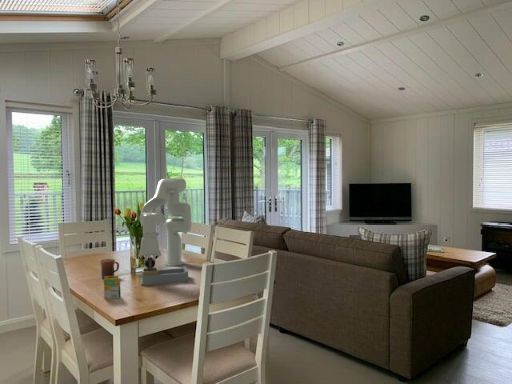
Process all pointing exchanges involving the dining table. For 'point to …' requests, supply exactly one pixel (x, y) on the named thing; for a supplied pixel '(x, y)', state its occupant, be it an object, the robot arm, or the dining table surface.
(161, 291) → the dining table surface
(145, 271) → the crate
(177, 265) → the robot arm
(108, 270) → the mug
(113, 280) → the crayon box
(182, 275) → the bay
